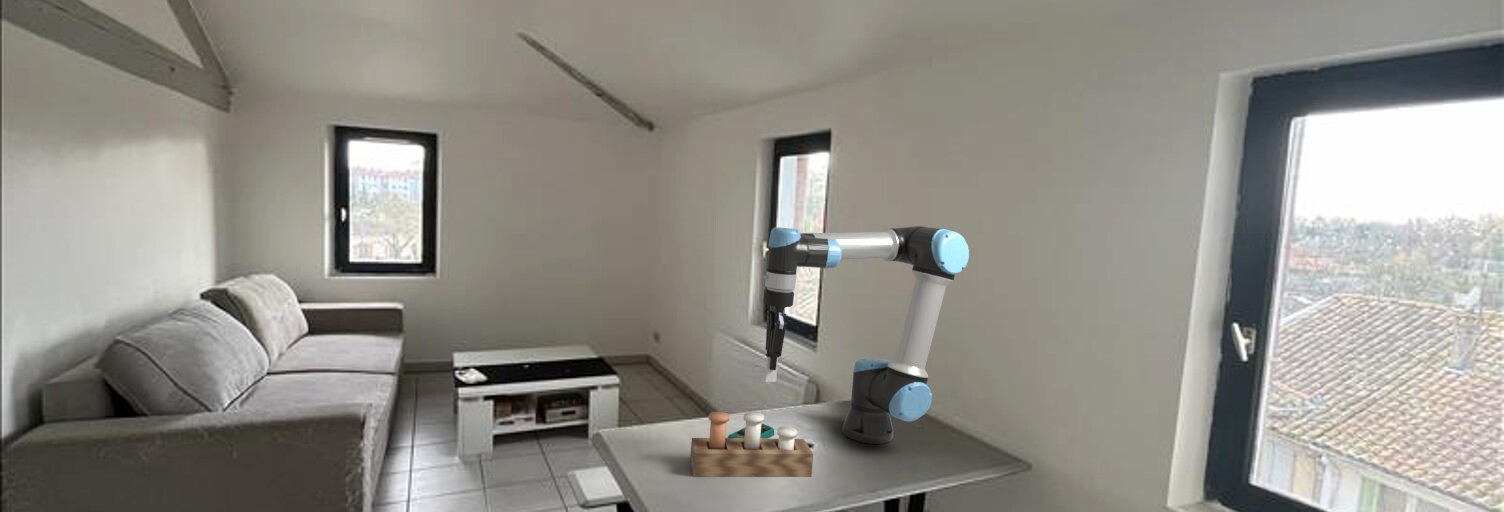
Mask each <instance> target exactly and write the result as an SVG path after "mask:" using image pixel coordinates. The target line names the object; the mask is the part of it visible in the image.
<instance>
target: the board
mask: <svg viewBox="0 0 1504 512" xmlns="http://www.w3.org/2000/svg"><path fill="white" fill-rule="evenodd" d="M709 439H710V437H691V443H690V444H691V445H690V456H689V457H690V458H689V460H690V466H691V471H692V476H693V478H694V477H695V478H696V477H697V478H701V477H702V478H703V477H704V478H705V477H706V478H716V477H717V478H719V477H720V478H724V477H725V478H727V477H728V478H732V477H733V478H737V477H738V478H739V477H740V478H745V477H747V478H756V477H757V478H758V477H759V478H763V477H765V478H773V477H774V478H775V477H776V478H777V477H778V478H780V477H781V478H782V477H783V478H785V477H787V478H788V477H790V478H793V477H794V478H798V477H799V478H803V477H804V478H809V477H810V478H811V477H812V475H813V474H812V473H813V464H814V463H813V462H814V453H813V451H812V450H811V448H810V446H809V444H808V443H807V442H806V440H805V439H804V438H794V450H778V443H779V438H767V439H762V438H760V447H759V450H744V439H745V438H728V437H725V450H719V449H709Z"/></svg>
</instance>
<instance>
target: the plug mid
mask: <svg viewBox="0 0 1504 512" xmlns="http://www.w3.org/2000/svg"><path fill="white" fill-rule="evenodd" d="M743 420H744V422H745V426H744V428H745V439H744V450H759V447H760V435H761V424H762V423H763V422H764V421H765V415H764V414H763V413H761V412H757V411H755V412H754V411H748V412H745V413H744V414H743Z"/></svg>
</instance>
